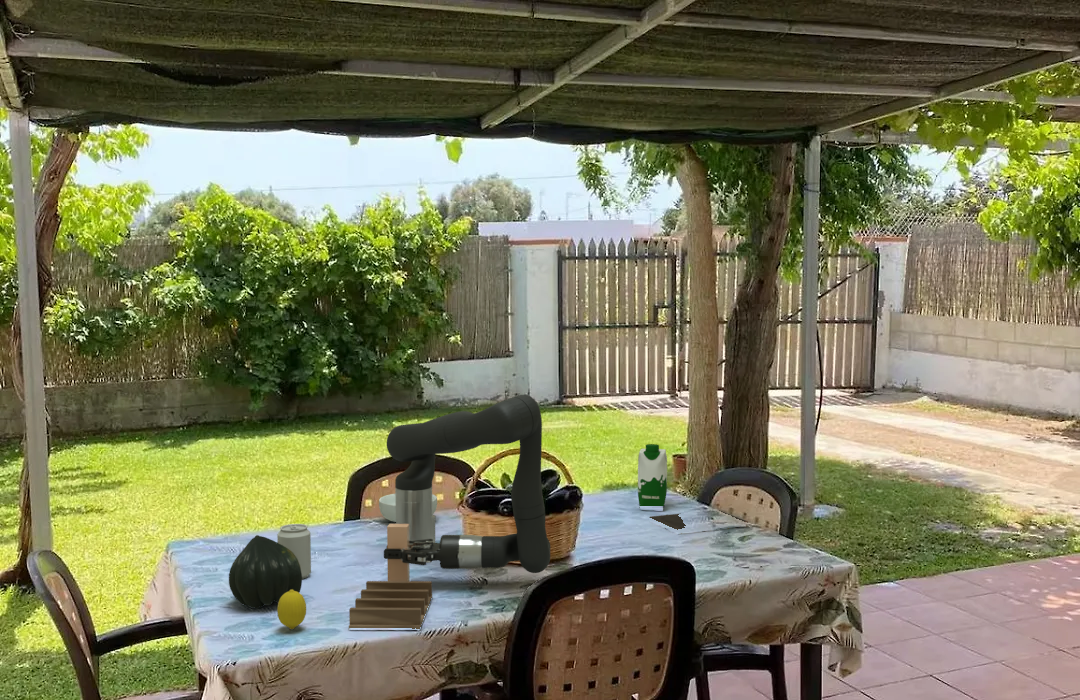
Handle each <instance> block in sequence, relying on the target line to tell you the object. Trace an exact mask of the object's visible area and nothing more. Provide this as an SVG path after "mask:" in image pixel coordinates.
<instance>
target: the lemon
mask: <svg viewBox="0 0 1080 700" xmlns="http://www.w3.org/2000/svg"><path fill="white" fill-rule="evenodd" d="M276 612H277V618H278V621H279V622H280V623H281V625H283V626H284V627H286V628H288V629H290V630H291V629H293V630H294V629H296V627H298V626H299V625H301V624H302V623H303V621H304V620H305V619H306V616H307V603H306V600H305V598H304V596H303V594H302V593H301V592H296V591H294V590H290V591H289V592H286V593H285V594H283V595H282V597H281V598H280V600H279V603H278V602H277V611H276Z"/></svg>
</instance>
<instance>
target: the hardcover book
mask: <svg viewBox="0 0 1080 700" xmlns="http://www.w3.org/2000/svg"><path fill="white" fill-rule="evenodd" d="M718 510H719V509H718ZM719 511H721V512H723V513H725V514H728V515H731V516H732V517H735V518H736V519H739V520H742V521H744V522H747V524H748V523H749V521H748V520H745V519H743V518H741V517H738V516H735V515H733V514H730V513H727V512H725V511H722V510H719ZM679 514H680V513H672V514H671V513H670V514H662V515H653V516H652V515H651V516H649V518H652V519H654V520H656V521H658V522H661V523H663V524H665V525H667V526H669V527H672V528H674V529H677V530H678V529H682V528H685V527H684V526H686V525H685V524H684V523H683V520H682V519H681V517H679V516H678V515H679ZM649 518H648V519H649Z"/></svg>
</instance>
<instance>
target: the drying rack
mask: <svg viewBox="0 0 1080 700" xmlns="http://www.w3.org/2000/svg"><path fill="white" fill-rule="evenodd" d="M432 583H433V582H432V581H431V580H430V581H427V580H423V581H422V580H420V581H419V580H416V581H413V580H410V581H388V580H378V581H377V580H372V581H371V580H367V581H366V583H365V589H361V590H360V597H356V598H355V600H354V601H355V604H354V605H355V606H354V607H350V608H349V610H348V613H349V615H348V617H349V621H348V622H349V625H348V629H349V628H412V629H415V628H416V629H420V627H421V624H422V622H423V619H424V616H425V614H426V611H427V608H428V606H429V604H430V605H431V603H430V601H431V598H432V599H433V584H432ZM431 602H432V601H431ZM429 607H430V606H429ZM428 609H429V608H428ZM427 612H428V611H427ZM426 615H427V614H426ZM425 617H426V616H425ZM424 620H425V619H424ZM423 623H424V622H423ZM422 625H423V624H422ZM421 628H422V627H421Z"/></svg>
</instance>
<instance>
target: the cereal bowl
mask: <svg viewBox="0 0 1080 700" xmlns="http://www.w3.org/2000/svg"><path fill="white" fill-rule="evenodd" d="M378 507H379V511H380V514H381V515H382V517H384V519H386V520H389V521H391V522H394V523H395V522H396V500H395V493H391V494H387V495H384V496H381V497H380V498H379V500H378ZM437 507H438V497H437V495H435V494H434V493H432V515H435V512H436V510H437Z"/></svg>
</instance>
